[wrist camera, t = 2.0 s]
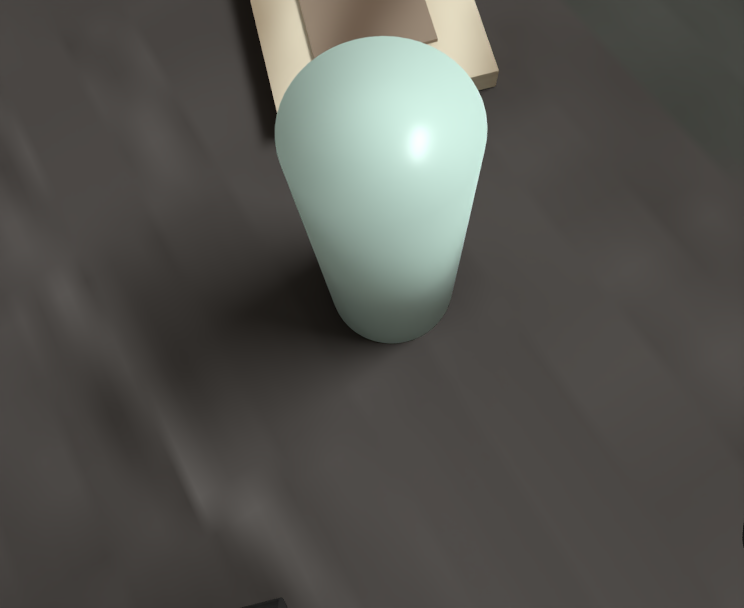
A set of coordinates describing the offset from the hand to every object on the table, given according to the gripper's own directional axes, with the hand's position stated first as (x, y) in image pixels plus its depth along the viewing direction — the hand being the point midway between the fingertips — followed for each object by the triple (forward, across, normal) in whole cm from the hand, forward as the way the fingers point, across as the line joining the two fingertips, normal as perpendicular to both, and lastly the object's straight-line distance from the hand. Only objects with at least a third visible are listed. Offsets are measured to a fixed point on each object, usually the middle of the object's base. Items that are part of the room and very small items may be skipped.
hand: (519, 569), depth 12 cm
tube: (+18, 0, +4) cm, 18 cm away
